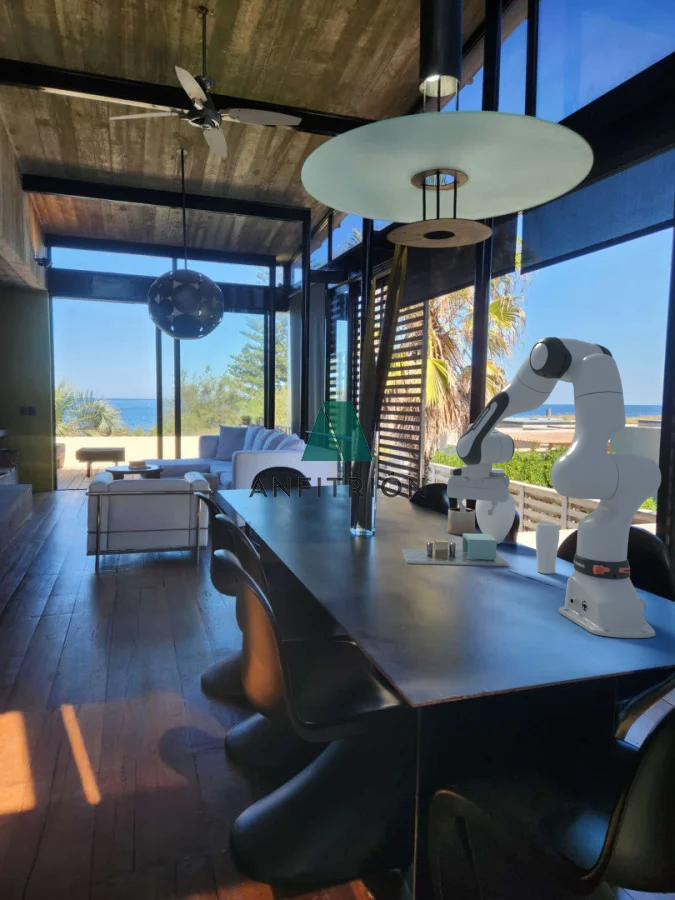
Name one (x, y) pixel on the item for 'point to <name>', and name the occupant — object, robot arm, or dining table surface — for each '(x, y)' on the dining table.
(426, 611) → the dining table surface
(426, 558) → the base
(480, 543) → the cover
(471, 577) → the dining table surface
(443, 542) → the block
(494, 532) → the vase
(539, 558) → the drinking glass
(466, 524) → the planter
